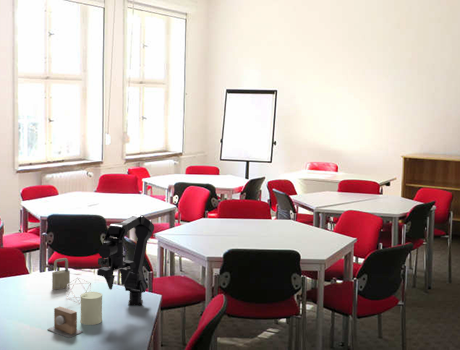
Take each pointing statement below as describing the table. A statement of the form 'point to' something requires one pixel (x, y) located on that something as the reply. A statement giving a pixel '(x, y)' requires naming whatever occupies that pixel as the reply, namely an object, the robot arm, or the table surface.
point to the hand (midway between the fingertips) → (116, 287)
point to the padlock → (60, 276)
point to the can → (91, 308)
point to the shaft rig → (65, 322)
